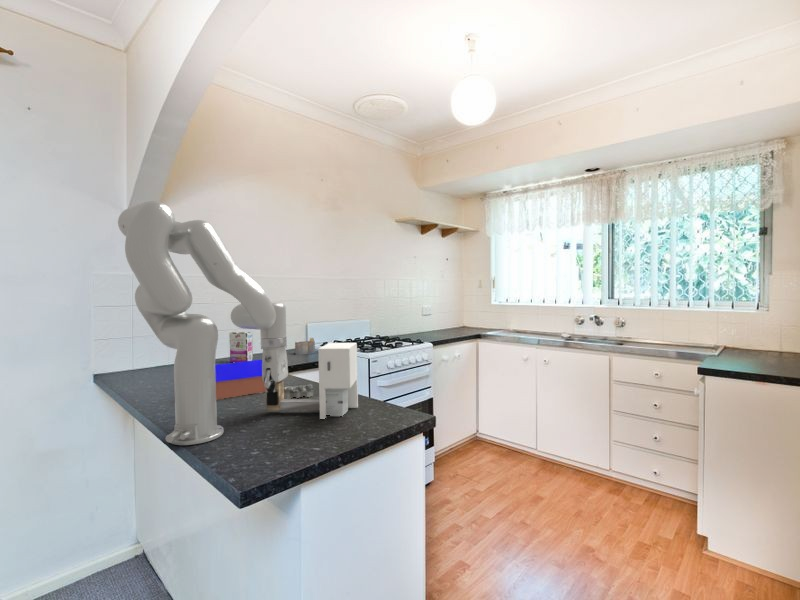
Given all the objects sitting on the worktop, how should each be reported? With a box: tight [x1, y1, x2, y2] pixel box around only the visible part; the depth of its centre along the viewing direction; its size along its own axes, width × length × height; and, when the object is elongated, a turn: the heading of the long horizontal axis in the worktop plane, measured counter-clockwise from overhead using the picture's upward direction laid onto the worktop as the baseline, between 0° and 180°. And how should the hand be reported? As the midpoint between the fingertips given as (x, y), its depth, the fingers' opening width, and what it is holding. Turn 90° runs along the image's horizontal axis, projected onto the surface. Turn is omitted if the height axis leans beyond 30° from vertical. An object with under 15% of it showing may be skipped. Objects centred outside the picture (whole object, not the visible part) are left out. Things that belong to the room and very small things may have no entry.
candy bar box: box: [229, 331, 254, 363], centre depth 215 cm, size 11×5×16 cm, turn 73°
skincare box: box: [326, 388, 349, 417], centre depth 121 cm, size 6×6×7 cm
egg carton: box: [284, 383, 314, 399], centre depth 142 cm, size 11×8×4 cm
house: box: [215, 359, 266, 401], centre depth 149 cm, size 12×20×12 cm, turn 125°
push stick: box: [265, 380, 320, 411], centre depth 122 cm, size 4×18×8 cm, turn 87°
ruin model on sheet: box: [294, 337, 316, 356], centre depth 243 cm, size 11×3×10 cm, turn 118°
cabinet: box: [318, 342, 359, 420], centre depth 121 cm, size 14×9×20 cm, turn 177°
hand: (275, 402), depth 122 cm, fingers closed on push stick, 4 cm apart
